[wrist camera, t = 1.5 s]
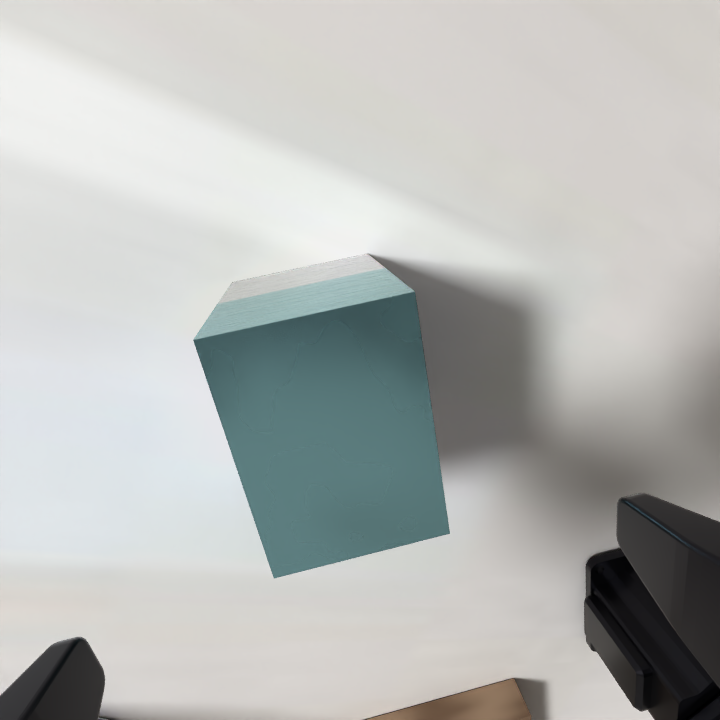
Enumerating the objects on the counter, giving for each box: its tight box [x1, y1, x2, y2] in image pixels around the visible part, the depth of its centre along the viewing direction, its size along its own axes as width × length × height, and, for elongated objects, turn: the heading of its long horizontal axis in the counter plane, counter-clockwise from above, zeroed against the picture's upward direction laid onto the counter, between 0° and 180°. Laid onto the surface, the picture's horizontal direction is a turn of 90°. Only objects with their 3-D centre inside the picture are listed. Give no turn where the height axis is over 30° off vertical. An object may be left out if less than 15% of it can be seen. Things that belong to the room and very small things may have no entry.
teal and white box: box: [193, 254, 450, 578], centre depth 15 cm, size 7×5×7 cm
